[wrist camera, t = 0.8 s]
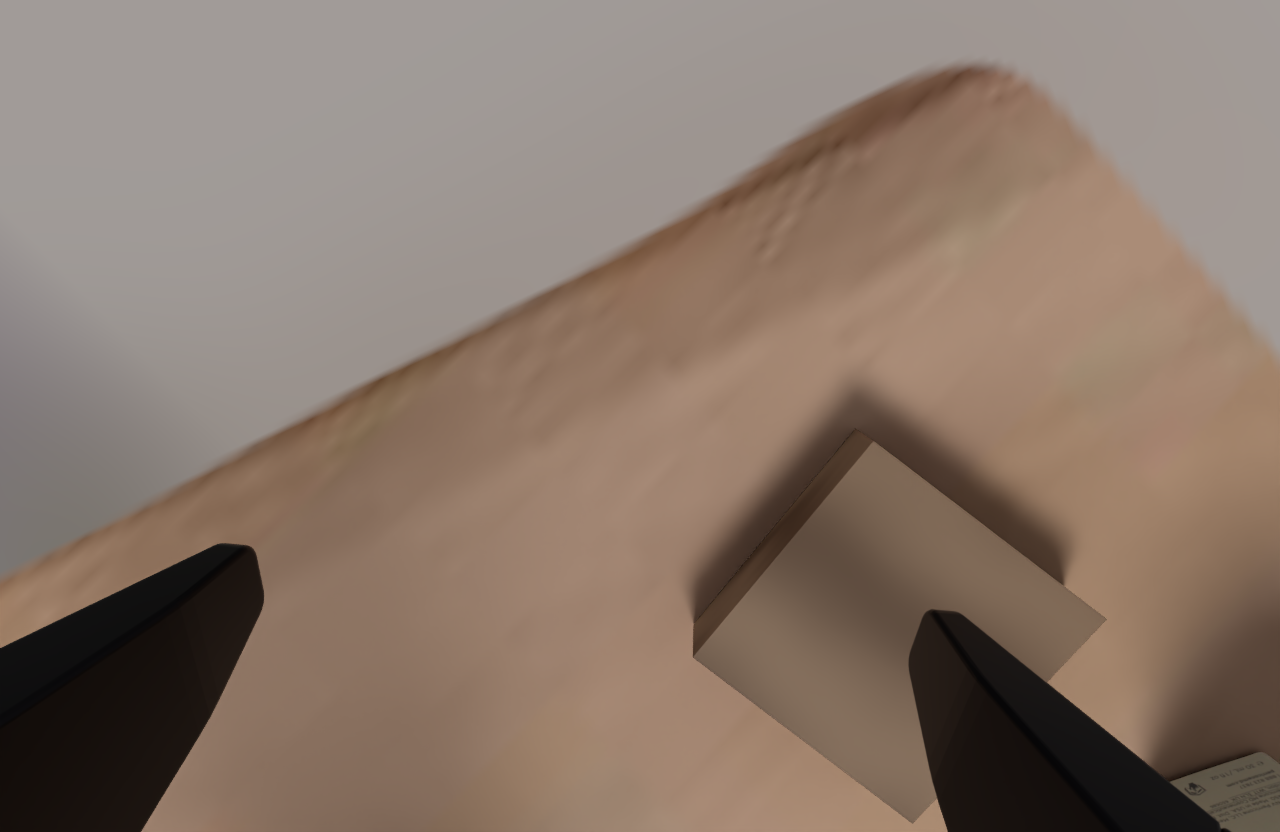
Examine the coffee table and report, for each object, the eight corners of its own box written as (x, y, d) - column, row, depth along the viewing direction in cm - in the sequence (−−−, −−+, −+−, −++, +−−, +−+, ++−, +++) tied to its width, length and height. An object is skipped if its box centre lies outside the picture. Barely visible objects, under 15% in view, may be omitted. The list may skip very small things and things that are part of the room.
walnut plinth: (891, 774, 25) (912, 823, 23) (693, 624, 25) (692, 657, 23) (1064, 588, 24) (1106, 619, 21) (855, 428, 24) (873, 440, 21)
